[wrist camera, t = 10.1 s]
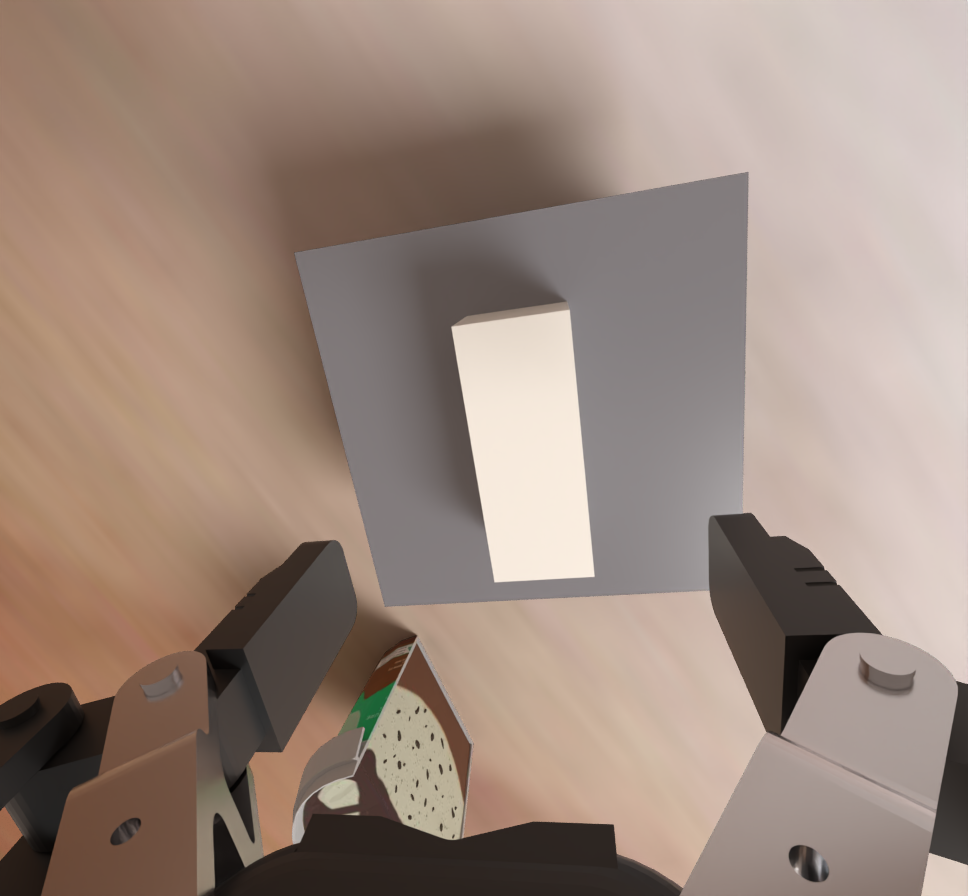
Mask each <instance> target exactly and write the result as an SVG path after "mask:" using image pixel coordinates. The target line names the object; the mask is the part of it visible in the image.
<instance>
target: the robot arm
mask: <svg viewBox="0 0 968 896" xmlns="http://www.w3.org/2000/svg"><path fill="white" fill-rule="evenodd" d="M708 549H709V590H710V597H711V602H712V606H713V610H714V613H715V615H716V618H717V620H718V622H719V624H720V627H721V629H722V631H723V634H724V636H725V638H726V641H727V643H728V645H729V647H730V650H731V652H732V654H733V657H734V659H735V661H736V663H737V666H738V668H739V670H740V673H741V675H742V677H743V679H744V682H745V684H746V686H747V689H748V691H749V693H750V695H751V698H752V700H753V702H754V705H755V707H756V709H757V711H758V714H759V716H760V718H761V721H762V723H763V725H764V727H765V730H766V732H767V733H766V734H765V735H764V736H763V738H762V739H761V741H760V743H759V744H758V746H757V748H756V750H755V752H754V754H753V756H752V758H751V760H750V761H749V763H748V765H747V767H746V769H745V771H744V773H743V775H742V777H741V779H740V781H739V783H738V784H737V786H736V788H735V790H734V792H733V794H732V796H731V798H730V800H729V802H728V804H727V806H726V808H725V809H724V811H723V813H722V815H721V817H720V819H719V821H718V823H717V825H716V827H715V829H714V831H713V832H712V834H711V836H710V838H709V840H708V842H707V844H706V846H705V848H704V850H703V852H702V854H701V855H700V857H699V859H698V861H697V863H696V865H695V867H694V869H693V871H692V873H691V875H690V877H689V878H688V880H687V882H686V884H685V886H684V888H682V887H680V886H679V885H678V884H676V883H675V882H673V881H672V880H670V879H668V878H667V877H665V876H664V875H662V874H660V873H659V872H657V871H656V870H653V869H651V868H649V867H647V866H645V865H643V864H641V863H639V862H637V861H635V860H632V859H629V858H626V857H624V856H621V855H618V854H617V853H616V843H615V833H614V825H611V824H584V823H556V822H530V823H526V824H521V825H517V826H513V827H509V828H504V829H500V830H496V831H492V832H487V833H483V834H479V835H475V836H471V837H466V838H462V839H457V840H448V839H444V838H441V837H438V836H435V835H432V834H430V833H427V832H424V831H421V830H418V829H416V828H413V827H410V826H407V825H404V824H402V823H399V822H396V821H393V820H390V819H388V818H385V817H382V816H365V815H338V814H312V817H311V819H310V821H309V823H308V826H307V828H306V830H305V832H304V835H303V837H302V839H301V841H300V843H296V844H293V845H290V846H288V847H285V848H282V849H280V850H277V851H275V852H273V853H271V854H269V855H267V856H265V857H264V854H263V846H262V838H261V831H260V823H259V816H258V808H257V800H256V793H255V785H254V777H253V773H252V770H251V768H250V766H249V761H250V760H251V758H252V756H253V755H254V753H255V752H283V750H284V748H285V746H286V745H287V743H288V741H289V739H290V737H291V736H292V734H293V732H294V730H295V729H296V727H297V725H298V723H299V721H300V720H301V718H302V716H303V714H304V713H305V711H306V709H307V707H308V705H309V704H310V702H311V700H312V698H313V697H314V695H315V693H316V691H317V689H318V688H319V686H320V684H321V682H322V681H323V679H324V677H325V675H326V673H327V672H328V670H329V668H330V666H331V665H332V663H333V661H334V659H335V657H336V656H337V654H338V652H339V650H340V649H341V647H342V645H343V643H344V641H345V640H346V638H347V636H348V634H349V633H350V631H351V629H352V627H353V625H354V623H355V619H356V614H357V601H356V595H355V592H354V588H353V585H352V581H351V577H350V574H349V570H348V566H347V563H346V559H345V556H344V552H343V549H342V546H341V545H340V543H339V542H338V541H336V540H330V541H316V542H304V543H302V544H301V545H300V546H299V547H298V548H297V549H296V550H295V551H294V552H293V553H292V555H291V556H290V557H289V558H288V559H287V560H286V561H285V562H284V563H283V564H282V565H281V566H279V567H278V568H276V569H275V570H273V571H272V572H270V573H269V574H267V575H266V576H264V577H263V578H261V579H260V581H259V582H258V583H257V584H256V585H255V586H254V587H253V588H252V589H251V590H250V591H249V592H248V593H247V597H244V598H243V599H242V600H241V601H240V602H239V603H238V604H237V605H236V606H235V610H232V611H231V612H230V613H229V614H228V615H227V616H226V617H225V618H224V619H223V620H222V621H221V622H220V623H219V624H218V625H217V627H216V628H215V629H214V630H213V631H212V632H211V633H210V634H209V635H208V636H207V637H206V638H205V639H204V640H203V642H202V643H201V644H200V645H199V646H198V647H197V648H196V649H195V650H194V651H183V652H178V653H174V654H171V655H168V656H165V657H163V658H160V659H158V660H156V661H154V662H152V663H150V664H148V665H147V666H145V667H144V668H142V669H140V670H139V671H138V672H136V673H135V674H134V675H133V676H131V677H130V678H129V679H128V680H127V681H126V682H125V683H124V684H123V685H122V686H121V688H120V689H119V690H118V692H117V694H116V695H115V696H113V697H109V698H105V699H101V700H97V701H94V702H90V703H86V704H82V705H80V703H79V701H78V700H77V698H76V696H75V694H74V692H73V690H72V688H71V687H70V685H68V684H66V683H51V684H46V685H42V686H39V687H36V688H33V689H31V690H28V691H26V692H24V693H22V694H20V695H17V696H16V697H14V698H12V699H10V700H8V701H7V702H5V703H3V704H2V705H0V810H1V809H2V808H3V807H4V806H5V808H6V809H7V811H8V812H9V814H10V816H11V817H12V819H13V820H14V822H15V823H16V825H17V827H18V828H19V830H20V831H21V833H22V834H23V836H22V837H21V838H20V839H19V840H18V842H17V843H16V844H15V845H14V846H13V847H12V848H11V850H10V851H9V852H8V853H7V854H6V855H5V856H4V857H3V859H2V860H1V861H0V896H921V893H922V887H923V882H924V876H925V871H926V866H927V860H928V855H929V853H932V854H935V855H938V856H941V857H945V858H948V859H951V860H954V861H957V862H960V863H963V864H967V865H968V684H965V683H961V682H958V681H956V680H955V678H954V677H953V675H952V674H951V672H950V671H949V670H948V669H947V668H946V667H945V666H944V665H943V664H942V663H941V662H940V661H939V660H937V659H936V658H935V657H933V656H932V655H930V654H929V653H927V652H925V651H924V650H922V649H920V648H918V647H916V646H914V645H912V644H909V643H907V642H904V641H901V640H899V639H896V638H892V637H888V636H884V635H882V634H881V633H880V632H879V630H878V629H877V628H876V627H875V626H874V625H873V623H872V622H871V621H870V620H869V619H868V618H867V616H866V615H865V614H864V613H863V612H862V611H861V609H860V608H859V607H858V606H857V605H856V604H855V602H854V601H853V600H852V599H851V598H850V597H849V595H848V594H847V593H846V592H845V591H844V590H843V588H842V587H841V586H840V585H837V583H836V580H835V579H834V578H833V577H832V576H831V574H830V573H829V572H828V571H827V570H824V566H823V565H822V564H821V563H820V562H819V561H818V559H817V558H816V557H815V556H814V555H813V554H812V552H811V551H810V550H809V549H807V548H805V547H804V546H802V545H800V544H798V543H796V542H795V541H793V540H791V539H789V538H788V537H786V536H777V537H770V536H769V535H768V533H767V532H766V531H765V529H764V528H763V527H762V526H761V524H760V523H759V522H758V520H757V519H756V518H755V516H754V515H753V514H752V513H742V514H727V515H713V516H710V518H709V524H708Z"/></svg>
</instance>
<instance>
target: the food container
mask: <svg viewBox="0 0 968 896" xmlns="http://www.w3.org/2000/svg"><path fill="white" fill-rule="evenodd" d="M473 745H474V743H473V741H472V739H471V737H470V735H469V733H468V732H467V730H466V728H465V726H464V724H463V722H462V720H461V718H460V716H459V714H458V712H457V710H456V709H455V707H454V705H453V703H452V701H451V699H450V697H449V695H448V693H447V691H446V689H445V687H444V685H443V684H442V682H441V680H440V678H439V676H438V674H437V672H436V670H435V668H434V666H433V664H432V662H431V661H430V659H429V657H428V655H427V653H426V651H425V649H424V647H423V645H422V643H421V641H420V639H419V637H418V636H414V637H411V638H408V639H405V640H402V641H401V642H399V643H398V644H397V645H395V646H394V647H392V648H391V649H390V650H388V651H387V652H385V654H384V656H383V657H382V659H381V660H380V662H379V663H378V665H377V666H376V668H375V670H374V672H373V673H372V675H371V677H370V679H369V681H368V682H367V684H366V686H365V688H364V689H363V691H362V693H361V695H360V697H359V698H358V700H357V702H356V704H355V705H354V707H353V709H352V711H351V713H350V714H349V716H348V718H347V720H346V722H345V723H344V725H343V727H342V729H341V730H340V732H339V734H338V736H336V737H334V738H332V739H331V740H329V741H328V742H327V743H325V744H324V745H323V746H321V747H320V748H319V749H318V750H317V751H316V752H315V753H314V754H313V756H312V757H311V758H310V760H309V761H308V763H307V765H306V767H305V769H304V772H303V775H302V778H301V782H300V786H299V790H298V794H297V798H296V801H295V805H294V809H293V828H292V839H293V844H296V843H300V841H301V839H302V837H303V835H304V832H305V830H306V828H307V826H308V823H309V821H310V819H311V817H312V814H338V815H365V816H382V817H385V818H388V819H390V820H393V821H396V822H399V823H402V824H404V825H407V826H410V827H413V828H416V829H418V830H421V831H424V832H427V833H430V834H432V835H435V836H438V837H441V838H444V839H448V840H457V839H462V838H464V829H465V820H466V810H467V801H468V792H469V782H470V773H471V764H472V754H473Z"/></svg>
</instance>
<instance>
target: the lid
mask: <svg viewBox="0 0 968 896" xmlns="http://www.w3.org/2000/svg"><path fill="white" fill-rule="evenodd" d="M747 227H748V172H745V173H740V174H734V175H728V176H723V177H717V178H712V179H706V180H700V181H695V182H689V183H683V184H678V185H672V186H666V187H661V188H655V189H650V190H644V191H638V192H633V193H627V194H621V195H616V196H610V197H605V198H599V199H593V200H588V201H582V202H576V203H571V204H565V205H560V206H554V207H548V208H543V209H537V210H531V211H526V212H520V213H515V214H509V215H503V216H498V217H492V218H486V219H481V220H475V221H470V222H464V223H458V224H453V225H447V226H441V227H436V228H430V229H425V230H419V231H413V232H408V233H402V234H396V235H391V236H385V237H379V238H374V239H368V240H363V241H357V242H351V243H346V244H340V245H334V246H329V247H323V248H318V249H312V250H306V251H301V252H295V253H294V255H295V258H296V262H297V266H298V270H299V274H300V278H301V282H302V286H303V290H304V293H305V297H306V301H307V305H308V309H309V313H310V317H311V321H312V325H313V329H314V332H315V336H316V340H317V344H318V348H319V352H320V356H321V360H322V364H323V367H324V371H325V375H326V379H327V383H328V387H329V391H330V395H331V399H332V402H333V406H334V410H335V414H336V418H337V422H338V426H339V430H340V434H341V438H342V441H343V445H344V449H345V453H346V457H347V461H348V465H349V469H350V473H351V476H352V480H353V484H354V488H355V492H356V496H357V500H358V504H359V508H360V511H361V515H362V519H363V523H364V527H365V531H366V535H367V539H368V543H369V547H370V550H371V554H372V558H373V562H374V566H375V570H376V574H377V578H378V582H379V585H380V589H381V593H382V597H383V601H384V605H385V607H388V606H408V605H428V604H448V603H468V602H488V601H508V600H528V599H548V598H568V597H589V596H609V595H629V594H649V593H669V592H689V591H709V549H708V524H709V518H710V516H713V515H727V514H742V513H743V461H744V402H745V344H746V285H747Z"/></svg>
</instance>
